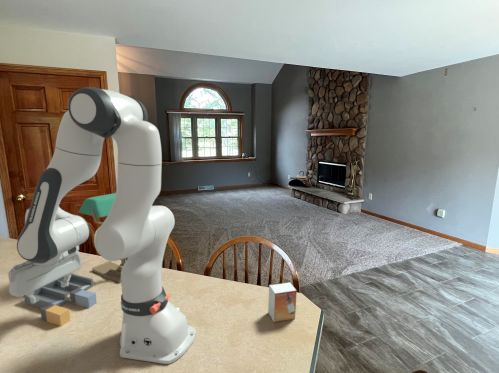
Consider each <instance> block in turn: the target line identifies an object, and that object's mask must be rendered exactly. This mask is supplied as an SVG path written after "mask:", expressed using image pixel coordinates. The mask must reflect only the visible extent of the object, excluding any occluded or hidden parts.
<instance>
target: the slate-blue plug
mask: <svg viewBox="0 0 499 373" xmlns="http://www.w3.org/2000/svg"><path fill="white" fill-rule="evenodd" d="M70 303H71V304H73V305H77V306H81V307H84V308H87V309H90V308H92V307H94V306H95V305H97V303H98V302H97V294H96V292H92V291H89V290H86V291H85V290H82V289H79V288H77V289H75V290H73V291H71V292H70Z"/></svg>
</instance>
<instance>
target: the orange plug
mask: <svg viewBox="0 0 499 373" xmlns="http://www.w3.org/2000/svg"><path fill="white" fill-rule="evenodd" d="M39 308H40V307H39ZM39 310H40V316H41V317H40V318H41V321H44V322H48V323H50V324H53V325H56V326H59V327H62V326H64V325H66V324H67V323H69V322H70V321H71V315H70V314H71V313H70V309H69V308H65V307H62V306H56V305H54V304H51V303H49V304H48V305H46V306H44V307H42V308H40V309H39Z"/></svg>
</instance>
